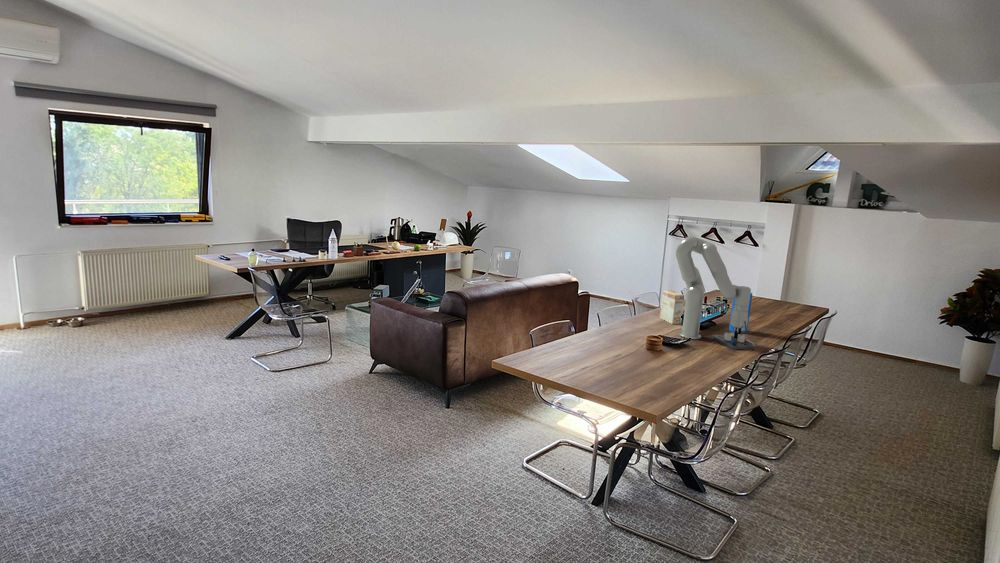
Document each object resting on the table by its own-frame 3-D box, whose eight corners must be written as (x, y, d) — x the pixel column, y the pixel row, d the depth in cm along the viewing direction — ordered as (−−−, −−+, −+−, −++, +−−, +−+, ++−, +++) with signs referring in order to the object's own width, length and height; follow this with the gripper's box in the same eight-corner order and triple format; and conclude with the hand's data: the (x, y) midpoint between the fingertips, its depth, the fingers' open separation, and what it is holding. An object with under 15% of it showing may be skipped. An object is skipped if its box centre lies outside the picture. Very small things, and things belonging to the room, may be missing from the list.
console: (710, 338, 334) (711, 332, 333) (732, 338, 336) (733, 332, 335) (731, 349, 312) (732, 343, 312) (754, 349, 315) (755, 343, 314)
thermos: (729, 327, 362) (734, 289, 357) (747, 330, 357) (752, 292, 353) (728, 331, 352) (733, 292, 347) (746, 334, 348) (752, 295, 343)
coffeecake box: (681, 324, 363) (684, 295, 360) (671, 324, 361) (675, 295, 358) (668, 318, 377) (671, 290, 374) (659, 318, 375) (662, 290, 372)
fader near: (724, 339, 324) (725, 332, 323) (727, 339, 324) (728, 332, 324) (726, 340, 321) (727, 333, 320) (730, 340, 321) (731, 333, 321)
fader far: (737, 340, 322) (738, 333, 321) (740, 340, 322) (741, 333, 322) (740, 342, 319) (741, 335, 318) (743, 342, 320) (744, 335, 319)
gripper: (728, 304, 328) (724, 334, 331) (742, 310, 313) (738, 342, 317) (739, 304, 329) (735, 334, 332) (755, 311, 314) (750, 342, 318)
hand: (737, 338), depth 324 cm, fingers closed
